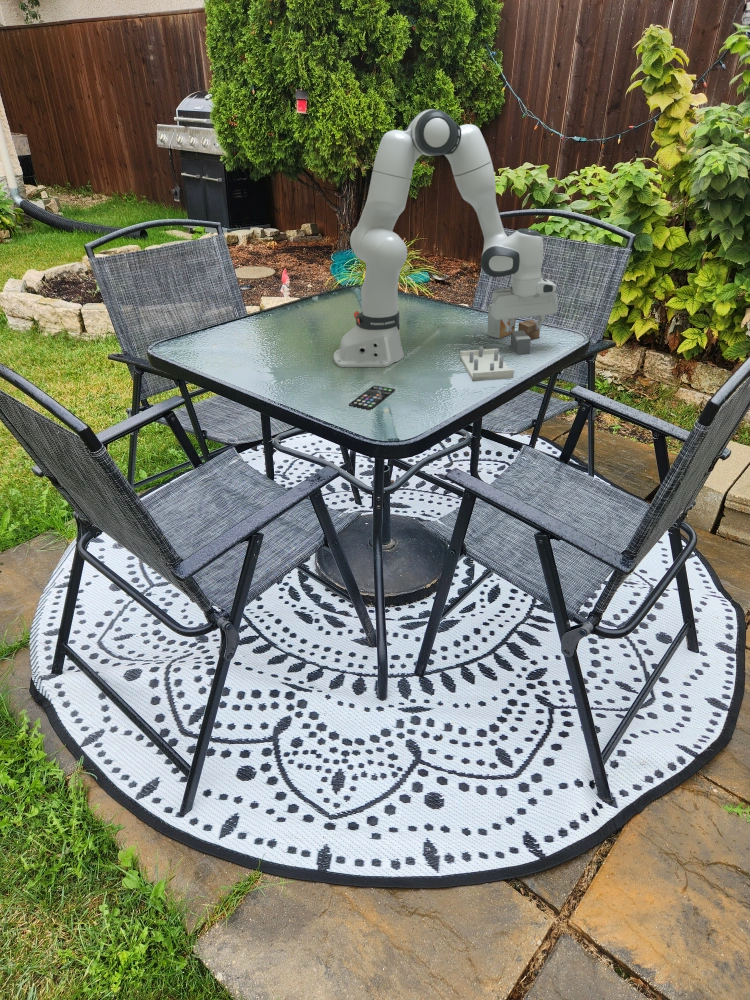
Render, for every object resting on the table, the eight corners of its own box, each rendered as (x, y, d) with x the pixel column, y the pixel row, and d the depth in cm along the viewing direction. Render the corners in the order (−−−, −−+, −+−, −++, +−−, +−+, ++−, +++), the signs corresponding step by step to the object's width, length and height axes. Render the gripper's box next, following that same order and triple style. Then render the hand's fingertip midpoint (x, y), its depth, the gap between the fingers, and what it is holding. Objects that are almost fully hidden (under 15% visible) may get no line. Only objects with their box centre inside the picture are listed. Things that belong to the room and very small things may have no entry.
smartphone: (396, 389, 191) (370, 409, 180) (396, 391, 191) (371, 411, 180) (373, 385, 194) (347, 404, 183) (373, 387, 194) (347, 406, 184)
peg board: (472, 380, 194) (473, 367, 192) (460, 358, 209) (460, 346, 207) (513, 377, 195) (514, 364, 193) (497, 355, 210) (498, 343, 208)
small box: (499, 339, 222) (501, 307, 216) (486, 335, 226) (488, 304, 220) (515, 333, 226) (517, 302, 221) (502, 329, 230) (504, 299, 224)
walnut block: (526, 341, 220) (528, 326, 217) (517, 337, 224) (518, 322, 221) (539, 338, 221) (540, 323, 219) (529, 334, 225) (531, 319, 223)
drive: (516, 355, 210) (518, 339, 207) (509, 346, 217) (511, 331, 214) (529, 354, 210) (531, 338, 207) (522, 345, 217) (523, 330, 214)
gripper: (494, 292, 199) (493, 336, 207) (561, 285, 200) (557, 330, 208) (489, 286, 204) (488, 330, 212) (554, 280, 205) (550, 324, 213)
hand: (523, 330), depth 210 cm, fingers open, 8 cm apart
